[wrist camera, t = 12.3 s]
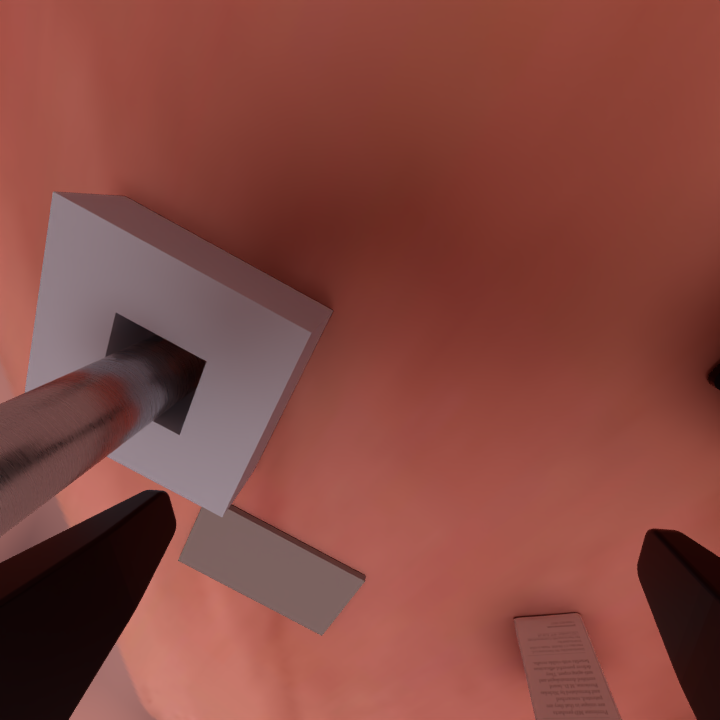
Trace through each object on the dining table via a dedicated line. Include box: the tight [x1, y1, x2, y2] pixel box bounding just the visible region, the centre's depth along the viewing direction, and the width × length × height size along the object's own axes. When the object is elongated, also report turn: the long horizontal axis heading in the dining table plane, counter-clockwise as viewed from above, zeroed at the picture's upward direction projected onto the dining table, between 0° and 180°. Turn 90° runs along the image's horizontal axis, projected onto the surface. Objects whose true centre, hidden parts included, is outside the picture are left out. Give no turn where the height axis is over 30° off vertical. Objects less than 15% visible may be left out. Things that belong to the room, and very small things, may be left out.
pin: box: [0, 334, 207, 537], centre depth 16 cm, size 3×3×12 cm
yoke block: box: [25, 192, 333, 517], centre depth 20 cm, size 12×12×4 cm
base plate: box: [178, 505, 366, 636], centre depth 27 cm, size 12×7×1 cm, turn 63°
